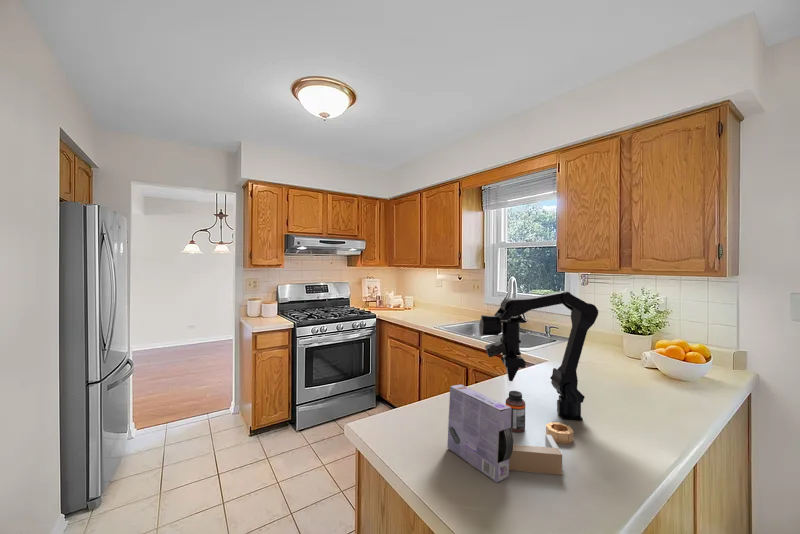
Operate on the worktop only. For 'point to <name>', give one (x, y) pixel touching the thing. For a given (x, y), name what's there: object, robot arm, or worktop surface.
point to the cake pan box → (480, 431)
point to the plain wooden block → (537, 458)
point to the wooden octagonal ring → (560, 432)
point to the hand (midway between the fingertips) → (510, 380)
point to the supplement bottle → (516, 411)
